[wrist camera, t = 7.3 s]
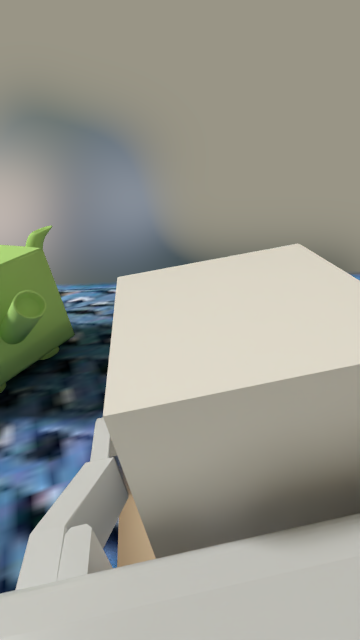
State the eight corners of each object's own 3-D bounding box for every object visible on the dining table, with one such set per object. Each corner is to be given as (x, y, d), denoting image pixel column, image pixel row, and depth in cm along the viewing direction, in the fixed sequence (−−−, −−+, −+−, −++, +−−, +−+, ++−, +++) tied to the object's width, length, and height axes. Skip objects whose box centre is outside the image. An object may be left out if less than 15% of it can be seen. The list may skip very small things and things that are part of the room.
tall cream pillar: (187, 642, 10) (102, 416, 5) (168, 471, 15) (117, 277, 10) (370, 599, 10) (462, 343, 5) (290, 445, 15) (298, 243, 11)
